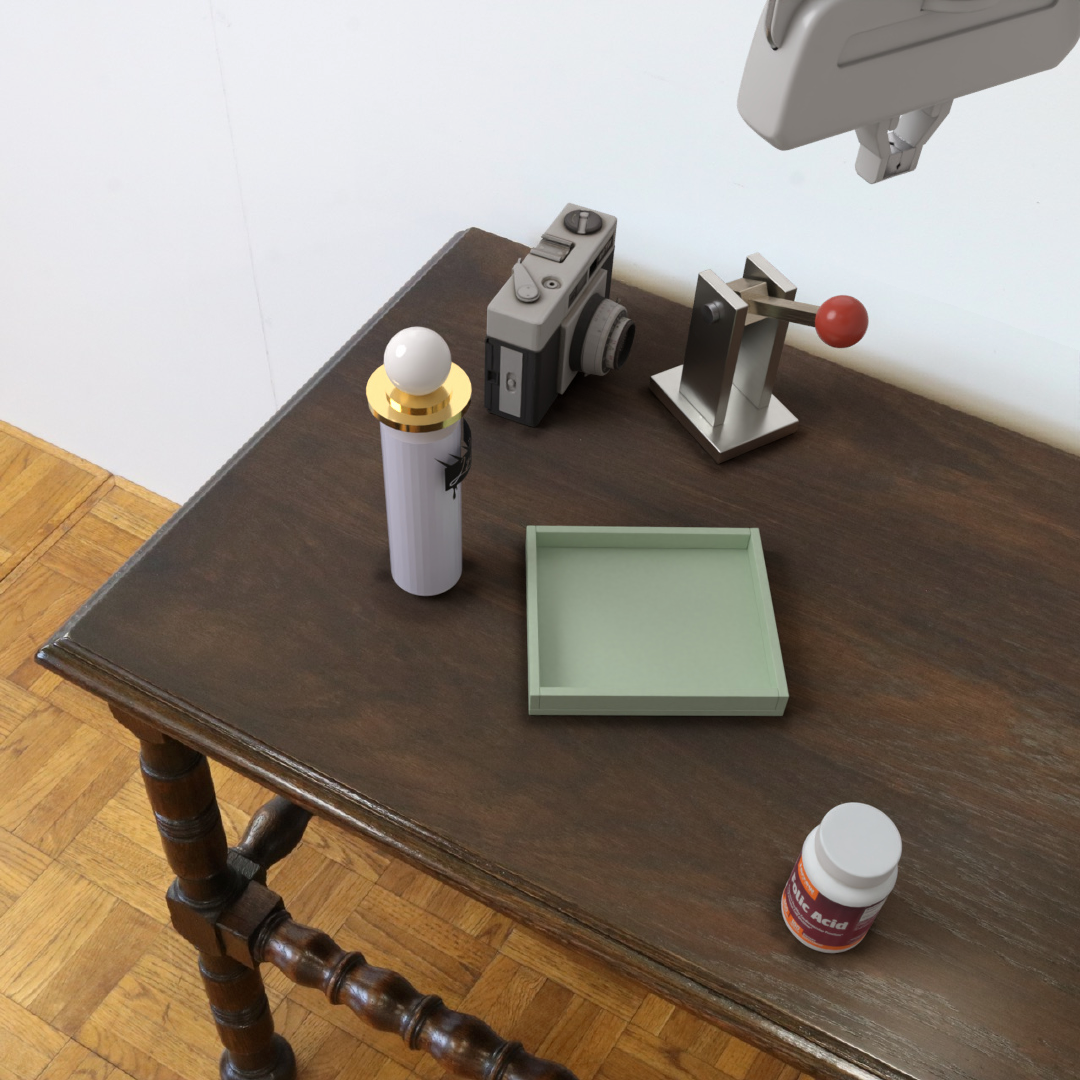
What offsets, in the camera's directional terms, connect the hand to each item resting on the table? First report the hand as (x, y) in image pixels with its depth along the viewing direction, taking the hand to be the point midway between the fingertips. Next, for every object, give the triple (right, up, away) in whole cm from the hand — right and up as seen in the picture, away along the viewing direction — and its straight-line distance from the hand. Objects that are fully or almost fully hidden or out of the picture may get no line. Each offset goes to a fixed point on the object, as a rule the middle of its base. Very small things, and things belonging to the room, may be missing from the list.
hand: (883, 172), depth 69 cm
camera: (-17, -8, +26) cm, 32 cm away
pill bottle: (-4, -40, -1) cm, 40 cm away
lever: (-2, -7, +13) cm, 15 cm away
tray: (-12, -26, +10) cm, 30 cm away
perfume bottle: (-26, -23, +13) cm, 37 cm away
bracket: (-5, -11, +24) cm, 27 cm away
